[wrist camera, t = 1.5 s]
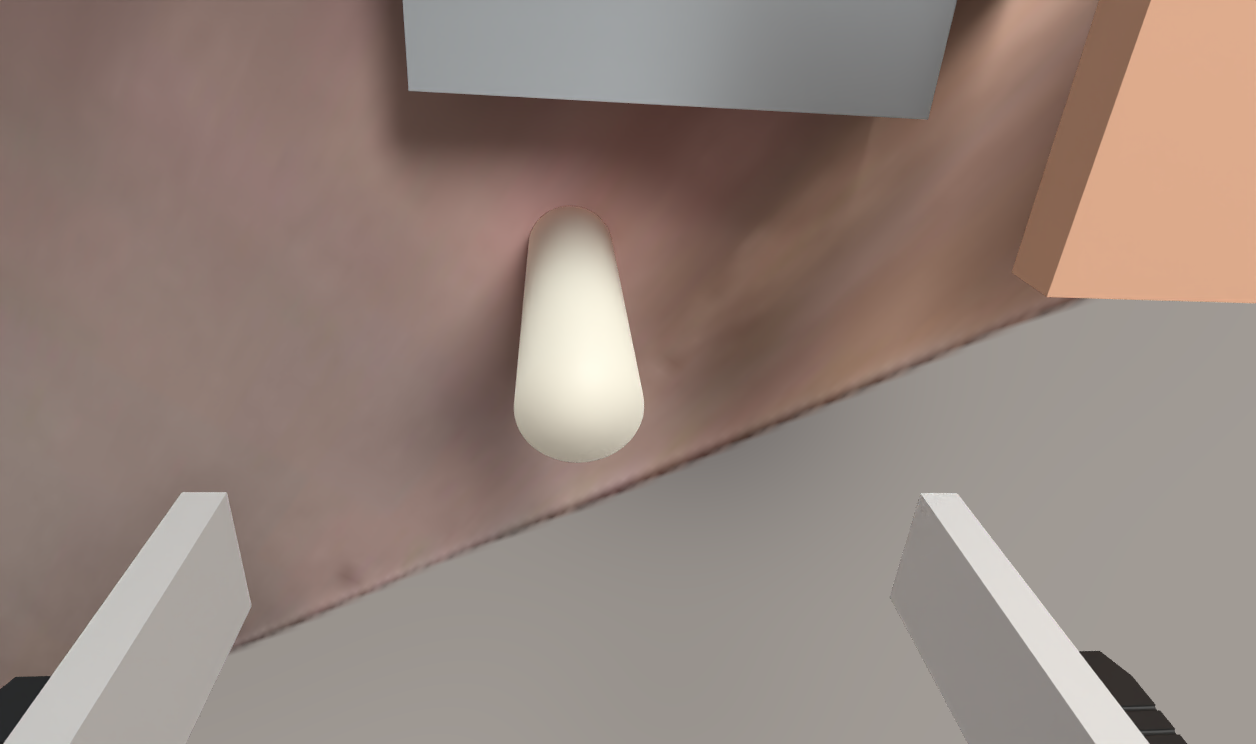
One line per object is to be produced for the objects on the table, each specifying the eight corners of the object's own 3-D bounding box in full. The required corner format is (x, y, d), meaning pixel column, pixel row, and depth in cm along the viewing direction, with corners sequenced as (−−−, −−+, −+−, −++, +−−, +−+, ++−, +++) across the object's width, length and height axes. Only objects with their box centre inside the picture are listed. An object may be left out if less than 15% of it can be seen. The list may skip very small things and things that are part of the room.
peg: (528, 204, 28) (513, 349, 18) (614, 207, 29) (648, 352, 18) (528, 284, 30) (514, 461, 19) (609, 287, 30) (639, 462, 20)
